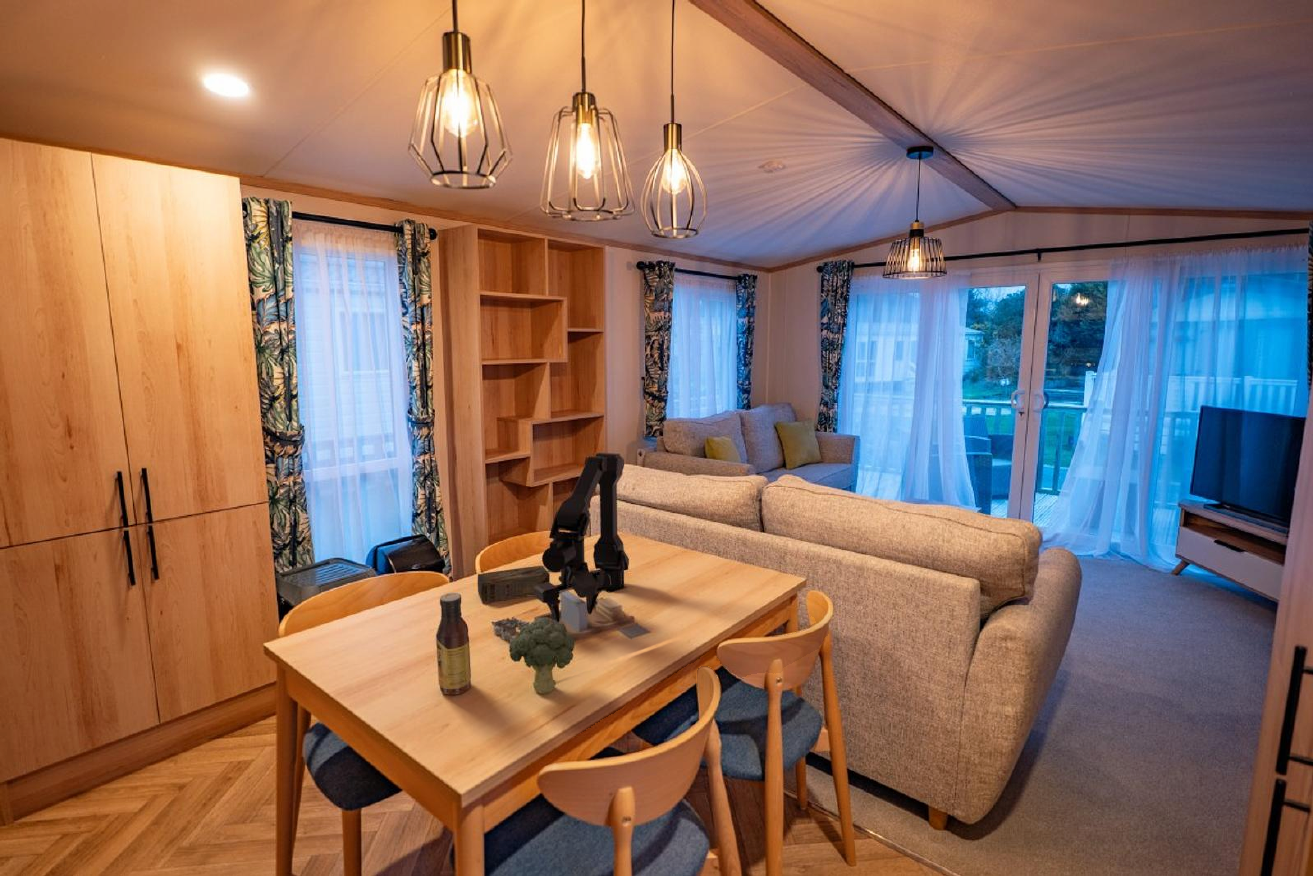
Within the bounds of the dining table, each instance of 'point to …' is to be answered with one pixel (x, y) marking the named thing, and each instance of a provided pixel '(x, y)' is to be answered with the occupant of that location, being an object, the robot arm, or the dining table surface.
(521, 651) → the vegetable
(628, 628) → the mat
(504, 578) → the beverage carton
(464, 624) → the sauce bottle
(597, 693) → the dining table surface
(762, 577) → the dining table surface
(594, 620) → the tray
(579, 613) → the board
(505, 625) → the grey lumpy clump
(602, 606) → the offcut upper
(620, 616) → the offcut lower
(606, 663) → the dining table surface
